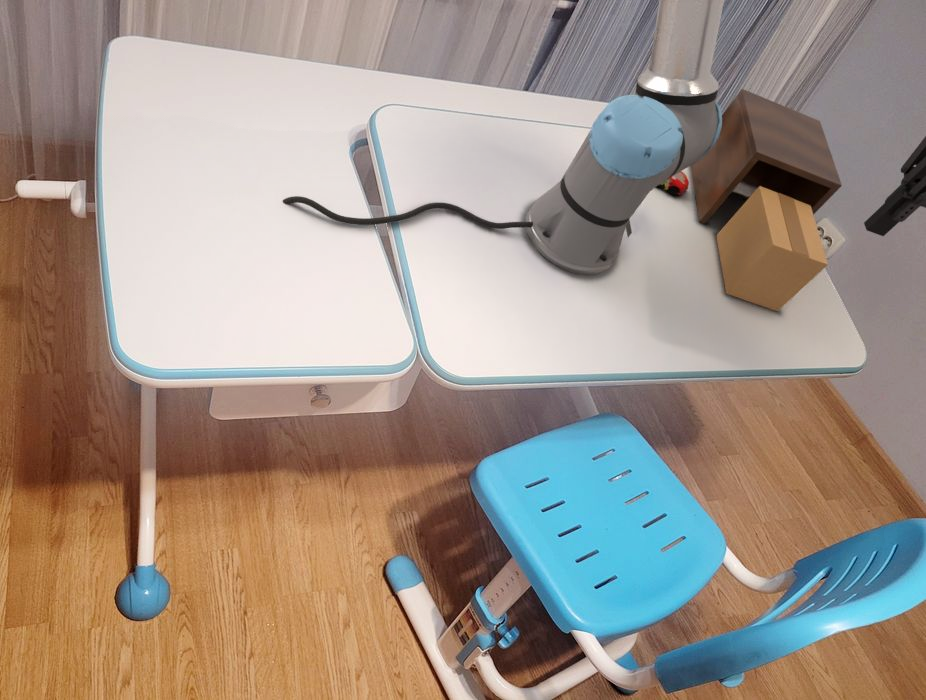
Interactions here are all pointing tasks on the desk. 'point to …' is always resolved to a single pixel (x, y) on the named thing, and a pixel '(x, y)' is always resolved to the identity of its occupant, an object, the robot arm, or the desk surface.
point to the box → (770, 249)
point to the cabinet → (765, 156)
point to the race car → (676, 184)
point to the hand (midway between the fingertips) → (873, 229)
